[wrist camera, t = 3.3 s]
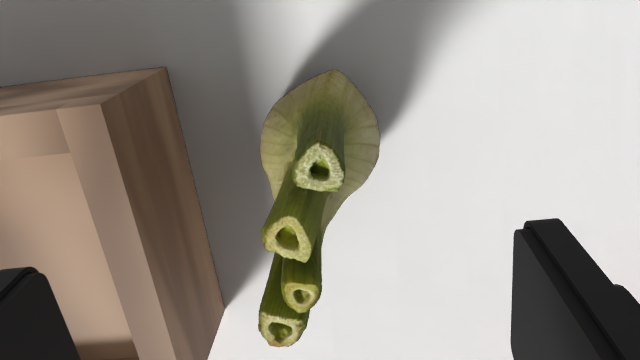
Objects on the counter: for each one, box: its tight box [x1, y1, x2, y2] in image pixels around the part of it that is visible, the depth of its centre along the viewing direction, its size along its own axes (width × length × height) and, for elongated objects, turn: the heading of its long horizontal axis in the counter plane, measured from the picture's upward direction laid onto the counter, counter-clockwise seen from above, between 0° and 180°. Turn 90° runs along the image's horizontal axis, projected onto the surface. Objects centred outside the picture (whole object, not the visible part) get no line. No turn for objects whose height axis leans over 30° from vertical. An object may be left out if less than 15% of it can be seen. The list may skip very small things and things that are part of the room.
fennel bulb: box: [258, 70, 380, 347], centre depth 18 cm, size 6×5×12 cm
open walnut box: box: [0, 67, 225, 360], centre depth 22 cm, size 13×13×6 cm
